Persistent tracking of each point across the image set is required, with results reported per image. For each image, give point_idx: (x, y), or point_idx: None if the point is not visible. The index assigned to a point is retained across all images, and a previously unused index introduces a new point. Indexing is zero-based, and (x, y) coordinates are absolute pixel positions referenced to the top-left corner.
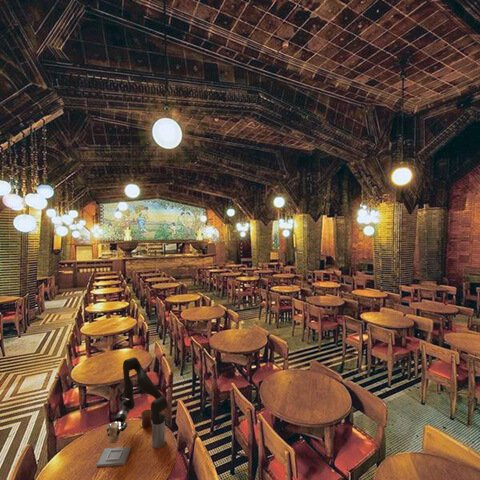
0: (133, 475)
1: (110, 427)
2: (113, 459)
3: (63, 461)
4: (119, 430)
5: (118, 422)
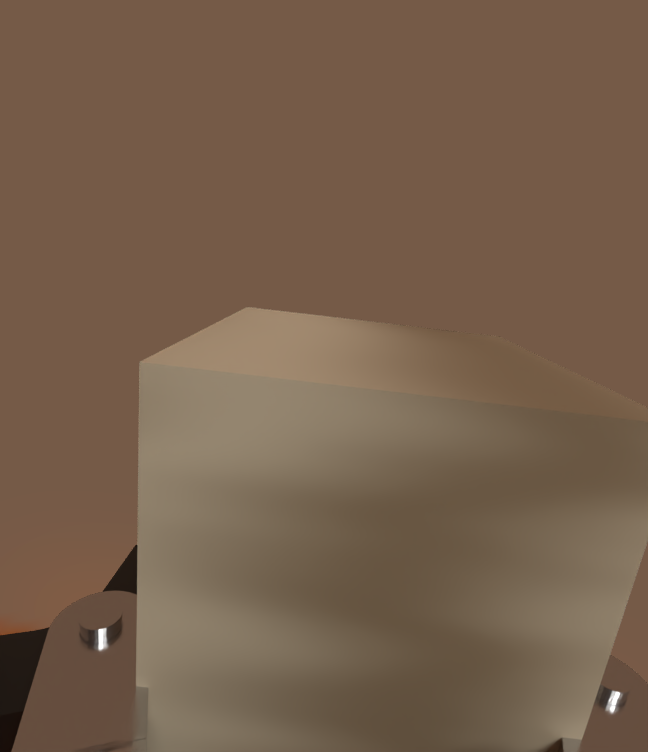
0: (22, 627)
1: (458, 334)
2: None
3: None
4: (134, 572)
5: (182, 363)
